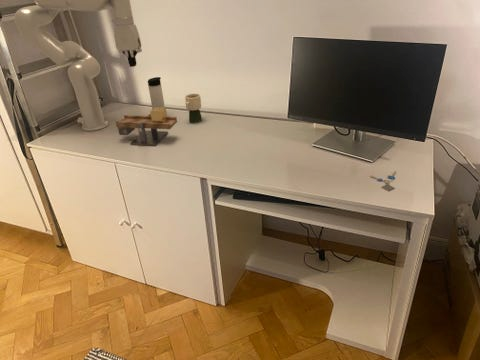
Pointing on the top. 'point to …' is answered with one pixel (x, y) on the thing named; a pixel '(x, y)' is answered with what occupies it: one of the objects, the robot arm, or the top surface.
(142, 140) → the stand
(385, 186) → the key chain
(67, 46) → the robot arm
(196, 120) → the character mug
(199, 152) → the top surface
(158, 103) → the travel mug
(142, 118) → the beam
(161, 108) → the tan block
